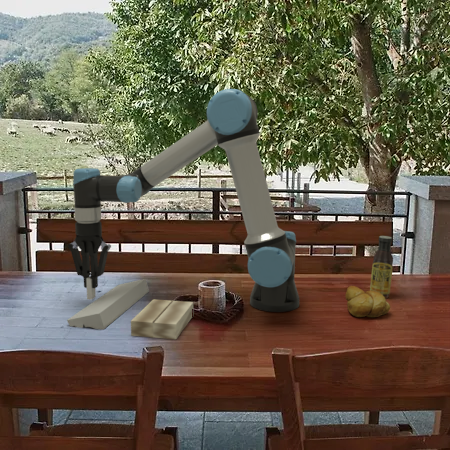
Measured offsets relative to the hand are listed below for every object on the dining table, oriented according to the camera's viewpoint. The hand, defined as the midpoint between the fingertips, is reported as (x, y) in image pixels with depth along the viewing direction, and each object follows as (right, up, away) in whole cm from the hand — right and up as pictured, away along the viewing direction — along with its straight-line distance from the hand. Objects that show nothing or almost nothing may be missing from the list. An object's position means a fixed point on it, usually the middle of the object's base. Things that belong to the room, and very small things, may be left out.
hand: (91, 297), depth 154 cm
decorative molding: (+7, -3, -1) cm, 7 cm away
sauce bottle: (+91, -1, +12) cm, 92 cm away
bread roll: (+82, -4, -5) cm, 83 cm away
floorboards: (+24, -5, -15) cm, 29 cm away
